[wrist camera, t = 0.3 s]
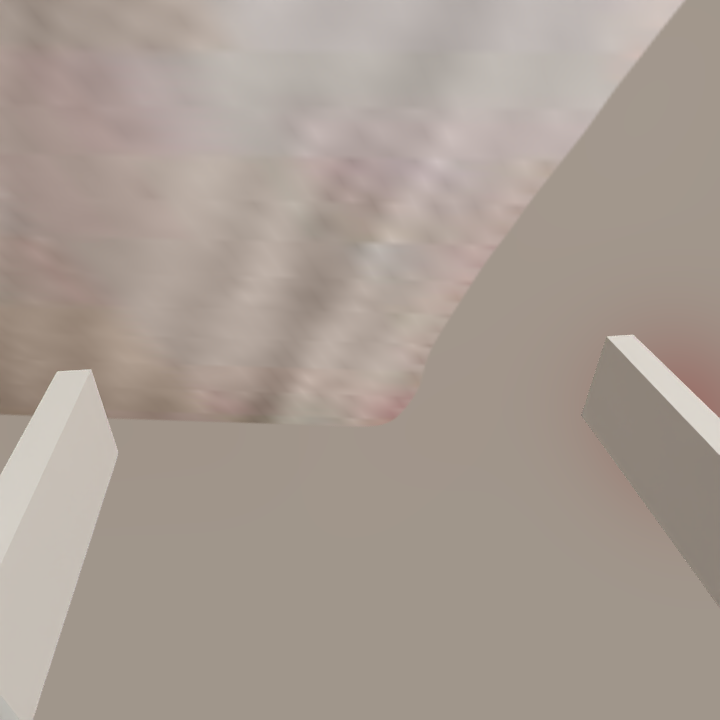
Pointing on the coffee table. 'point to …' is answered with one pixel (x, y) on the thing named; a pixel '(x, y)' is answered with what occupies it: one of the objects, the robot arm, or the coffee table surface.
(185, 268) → the coffee table surface
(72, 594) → the robot arm
